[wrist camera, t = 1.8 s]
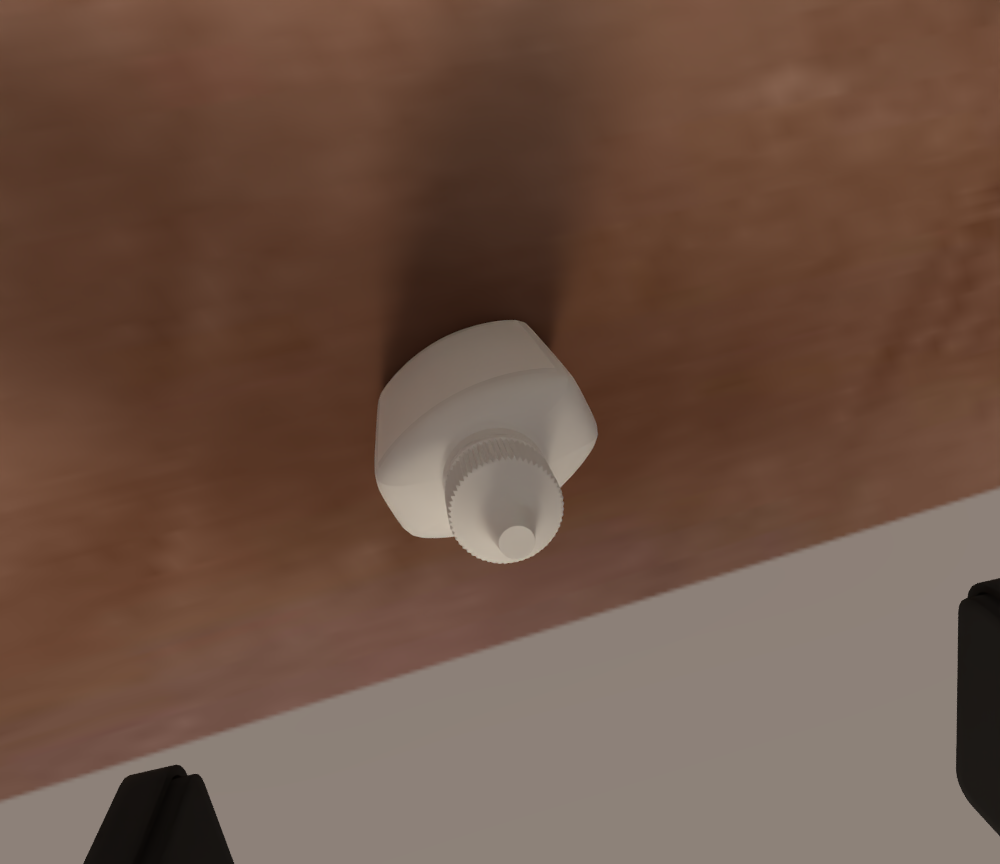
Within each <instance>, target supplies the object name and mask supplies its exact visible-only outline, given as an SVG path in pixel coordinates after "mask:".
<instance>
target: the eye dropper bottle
mask: <svg viewBox="0 0 1000 864" xmlns="http://www.w3.org/2000/svg"><path fill="white" fill-rule="evenodd" d="M597 436H598V432H597V424H596V422H595V419H594V417H593V414H592V412H591V410H590V408H589V406H588V404H587V402H586V400H585V398H584V396H583V394H582V392H581V390H580V388H579V387H578V385H577V383H576V381H575V379H574V378H573V377H572V375H571V374H570V373H569V371H568V370H567V369H566V368H565V366H564V365H563V364H562V363H561V362H560V361H559V359H558V358H557V357H556V356H555V355H554V354H553V353H552V351H551V350H550V349H549V348H548V347H547V346H546V345H545V343H544V342H543V341H542V340H541V339H540V338H539V337H538V336H537V334H536V333H535V332H534V331H533V330H532V329H531V328H530V327H529V326H528V325H527V324H526V323H525V322H521V321H517V320H502V321H494V322H488V323H483V324H479V325H475V326H472V327H468V328H465V329H462V330H460V331H457V332H454V333H452V334H450V335H447V336H445V337H443V338H441V339H439V340H438V341H436V342H434V343H433V344H431V345H429V346H428V347H426V348H425V349H423V350H422V351H421V352H419V353H418V354H417V355H415V356H414V357H413V358H412V359H411V360H409V361H408V362H407V363H406V364H405V365H404V366H403V367H402V368H401V369H400V370H399V371H398V372H397V373H396V374H395V375H394V376H393V378H392V379H391V380H390V381H389V382H388V384H387V385H386V386H385V388H384V389H383V391H382V392H381V395H380V398H379V401H378V409H377V425H376V442H375V476H376V481H377V485H378V489H379V491H380V493H381V494H382V496H383V498H384V500H385V501H386V503H387V505H388V506H389V508H390V509H391V511H392V513H393V514H394V516H395V517H396V519H397V520H398V521H399V523H400V524H401V526H402V527H403V528H404V529H405V530H406V531H408V532H409V533H410V534H412V535H413V536H418V537H422V538H444V537H454V536H455V539H456V540H457V541H458V542H459V545H462V547H463V549H466V550H467V552H469V553H471V554H472V556H476V557H477V558H481V559H482V560H487V562H493V563H497V562H498V563H499V564H501V563H505V564H506V563H513V562H518V561H520V560H521V561H523V560H524V559H527V558H529V557H530V556H534V555H535V553H539V551H540V550H542V549H544V547H545V546H547V545H548V543H549V542H550V541H552V538H553V537H554V536H555V533H556V532H557V531H558V528H559V527H560V526H561V525H560V522H561V521H562V516H563V515H564V514H563V510H564V508H563V505H564V502H563V496H562V491H561V489H560V487H561V486H562V485H563V484H564V483H565V482H566V481H567V480H568V479H569V478H570V477H571V476H572V475H573V474H574V473H575V472H576V470H577V469H578V468H579V467H580V466H581V464H582V463H583V462H584V460H585V459H586V458H587V456H588V455H589V453H590V452H591V450H592V449H593V447H594V445H595V442H596V439H597Z"/></svg>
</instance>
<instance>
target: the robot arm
mask: <svg viewBox="0 0 1000 864" xmlns="http://www.w3.org/2000/svg"><path fill="white" fill-rule="evenodd" d="M958 615H959V616H958V679H957V681H958V682H957V748H956V773H957V778H958V782H959V785H960V787H961V789H962V792H963V793H964V795H965V797H966V798H967V800H968V801H969V803H970V804H971V805H972V806H973V807H974V808H975V809H976V811H977V812H978V813H979V814H980V815H981V816H982V817H983V818H984V819H985V820H986V822H987V823H988V824H989V825H990V826H991V827H992V828H993V829H994V830H995V831H996V832H997V833H998V835H999V836H1000V578H999V579H995V580H990V581H985V582H981V583H977V584H975V585H974V586H972V587H971V589H970V591H969V593H968V598H966V599H964V600H962V601H961V603H960V605H959V612H958ZM84 864H234V862H233V859H232V857H231V854H230V851H229V849H228V846H227V843H226V841H225V838H224V835H223V833H222V830H221V827H220V824H219V822H218V819H217V816H216V814H215V811H214V808H213V805H212V803H211V800H210V797H209V795H208V792H207V789H206V787H205V784H204V782H203V780H202V778H201V777H200V776H199V775H198V774H192V775H187V774H186V771H185V770H184V769H183V768H182V767H181V766H180V765H173V766H168V767H164V768H160V769H155V770H151V771H147V772H142V773H138V774H133V775H129V776H128V777H126V778H125V779H124V780H123V782H122V783H121V785H120V787H119V789H118V791H117V793H116V795H115V797H114V799H113V801H112V804H111V806H110V808H109V810H108V812H107V814H106V816H105V819H104V821H103V823H102V825H101V827H100V829H99V831H98V833H97V836H96V838H95V840H94V842H93V844H92V846H91V849H90V851H89V853H88V855H87V857H86V859H85V861H84Z"/></svg>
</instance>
